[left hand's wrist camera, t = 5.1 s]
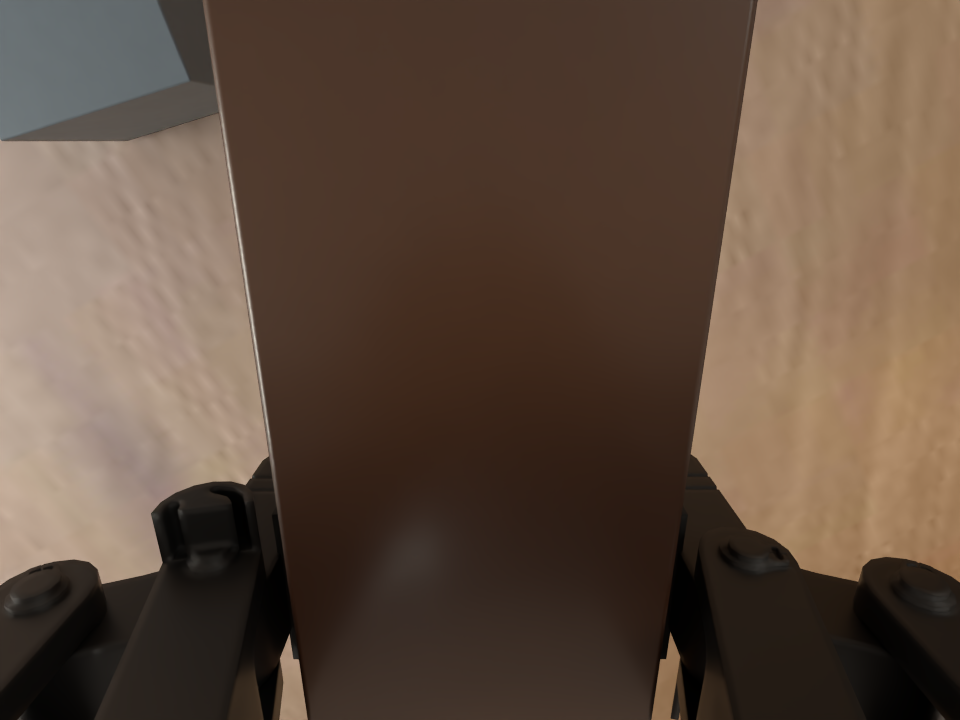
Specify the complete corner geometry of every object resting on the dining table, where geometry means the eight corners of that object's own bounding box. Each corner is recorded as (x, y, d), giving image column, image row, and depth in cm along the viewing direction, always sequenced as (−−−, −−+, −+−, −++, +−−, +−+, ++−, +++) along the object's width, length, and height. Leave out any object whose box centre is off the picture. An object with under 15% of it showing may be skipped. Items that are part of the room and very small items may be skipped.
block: (270, 96, 18) (191, 81, 13) (125, 141, 18) (0, 141, 13) (201, -93, 16) (81, -191, 11) (44, -38, 16) (-135, -109, 12)
